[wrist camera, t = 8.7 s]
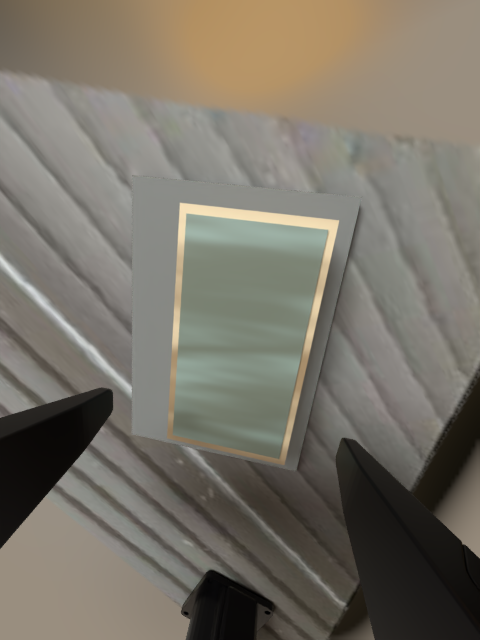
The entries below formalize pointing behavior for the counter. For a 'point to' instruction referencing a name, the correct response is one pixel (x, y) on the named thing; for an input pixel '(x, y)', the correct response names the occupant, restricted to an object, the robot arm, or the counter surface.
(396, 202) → the counter surface
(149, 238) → the mat
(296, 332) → the tile
